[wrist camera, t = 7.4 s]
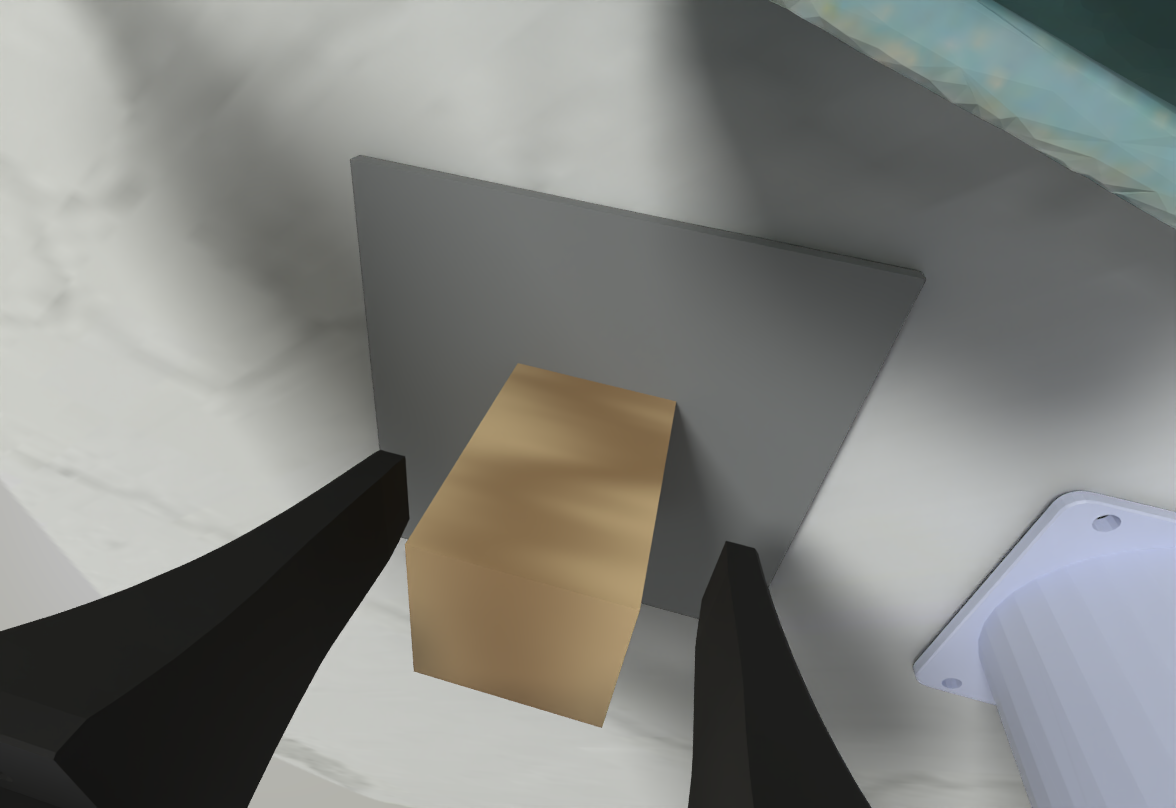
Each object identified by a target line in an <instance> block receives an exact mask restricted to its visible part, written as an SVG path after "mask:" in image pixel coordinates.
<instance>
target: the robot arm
mask: <svg viewBox="0 0 1176 808" xmlns="http://www.w3.org/2000/svg"><path fill="white" fill-rule="evenodd" d="M1104 515H1108V516H1106V517H1105V518H1101V519H1097V518H1098V517H1100V516H1104ZM409 520H410V517H409V502H408V488H407V473H406V458H405V456H402V455H398V454H395V453H391V452H387V451H383V450H379V451H377V452H375V453H374V454H372V455H371V456H369V457H368V458H366V459H365V460H363V461H362V462H360V463H359V464H357V465H356V466H354V467H353V468H351V469H350V470H348V471H347V472H345V473H344V474H342V475H341V476H339V477H338V478H336V479H335V480H333V481H332V482H330V483H329V484H327V485H326V486H324V487H322V488H321V489H319V490H318V491H316V492H315V493H313V494H311V495H310V496H308V497H307V498H305V499H304V500H302V501H300V502H299V503H297V504H296V505H294V506H293V507H291V508H289V509H288V510H286V511H284V512H283V513H281V514H279V515H278V516H276V517H274V518H272V519H271V520H269V521H267V522H265V523H264V524H262V525H260V526H259V527H257V528H255V529H253V530H252V531H250V532H248V533H246V534H244V535H243V536H241V537H239V538H237V539H235V540H233V541H231V542H230V543H228V544H226V545H224V546H222V547H220V548H218V549H216V550H214V551H212V552H210V553H208V554H206V555H204V556H202V557H199V558H197V559H195V560H193V561H191V562H189V563H187V564H184V565H182V566H180V567H177V568H175V569H173V570H170V571H168V572H166V573H163V574H161V575H159V576H156V577H154V578H152V579H149V580H147V581H145V582H142V583H140V584H138V585H135V586H133V587H130V588H128V589H125V590H122V591H120V592H117V593H114V594H112V595H109V596H106V597H104V598H101V599H98V600H96V601H93V602H90V603H87V604H85V605H81V606H79V607H76V608H73V609H70V610H67V611H64V612H61V613H58V614H55V615H52V616H49V617H46V618H42V619H39V620H36V621H33V622H30V623H26V624H23V625H20V626H16V627H13V628H10V629H7V630H3V631H0V808H247V807H248V805H249V803H250V801H251V799H252V797H253V795H254V792H255V790H256V788H257V786H258V784H259V782H260V780H261V778H262V776H263V774H264V772H265V770H266V768H267V766H268V764H269V761H270V760H271V758H272V755H273V753H274V751H275V749H276V747H277V745H278V743H279V742H280V740H281V738H282V736H283V734H284V732H285V730H286V728H287V726H288V724H289V722H290V720H291V718H292V716H293V714H294V712H295V710H296V709H297V707H298V705H299V703H300V701H301V699H302V697H303V696H304V694H305V692H306V690H307V688H308V686H309V684H310V683H311V681H312V679H313V677H314V675H315V673H316V672H317V670H318V668H319V666H320V664H321V663H322V661H323V659H324V658H325V656H326V654H327V653H328V651H329V650H330V648H331V646H332V645H333V643H334V642H335V640H336V639H337V637H338V636H339V634H340V633H341V631H342V630H343V628H344V627H345V625H346V624H347V622H348V621H349V619H350V618H351V616H352V615H353V613H354V612H355V611H356V609H357V608H358V606H359V605H360V603H361V602H362V600H363V599H364V597H365V596H366V594H367V593H368V591H369V590H370V588H371V587H372V585H373V584H374V582H375V581H376V579H377V578H378V576H379V575H380V573H381V572H382V570H383V569H384V567H385V566H386V564H387V562H388V561H389V559H390V557H391V556H392V554H393V552H394V550H395V548H396V546H397V544H398V542H399V540H400V538H401V536H402V534H403V532H404V530H405V528H406V526H407V524H408V522H409ZM913 669H914V673H915V677H916V680H917V681H918V682H919V683H921V684H923V685H925V686H928V687H931V688H935V689H939V690H942V691H946V692H950V693H953V694H957V695H960V696H964V697H968V698H971V699H975V700H979V701H982V702H986V703H990V704H993V705H996V706H997V709H998V712H999V715H1000V718H1001V721H1002V724H1003V726H1004V729H1005V732H1006V735H1007V738H1008V741H1009V744H1010V747H1011V749H1012V752H1013V755H1014V758H1015V761H1016V764H1017V767H1018V769H1019V772H1020V775H1021V778H1022V781H1023V784H1024V787H1025V789H1026V792H1027V795H1028V798H1029V801H1030V804H1031V807H1032V808H1176V512H1174V511H1169V510H1165V509H1161V508H1157V507H1152V506H1148V505H1144V504H1140V503H1136V502H1131V501H1127V500H1123V499H1119V498H1114V497H1110V496H1106V495H1102V494H1098V493H1093V492H1088V491H1075V492H1069V493H1067V494H1064V495H1062V496H1060V497H1059V498H1058V499H1056V500H1055V501H1054V502H1053V503H1052V504H1051V505H1050V506H1049V508H1048V509H1047V510H1046V511H1045V512H1044V513H1043V515H1042V516H1041V517H1040V518H1039V519H1038V520H1037V522H1036V523H1035V524H1034V525H1033V526H1032V527H1031V529H1030V530H1029V531H1028V532H1027V533H1026V534H1025V536H1024V537H1023V538H1022V539H1021V540H1020V541H1019V542H1018V544H1017V545H1016V546H1015V547H1014V548H1013V549H1012V551H1011V552H1010V553H1009V554H1008V555H1007V556H1006V558H1005V559H1004V560H1003V561H1002V562H1001V563H1000V565H999V566H998V567H997V568H996V569H995V570H994V572H993V573H992V574H991V575H990V576H989V577H988V579H987V580H986V581H985V582H984V583H983V584H982V586H981V587H980V588H979V589H978V590H977V591H976V592H975V594H974V595H973V596H972V597H971V598H970V599H969V601H968V602H967V603H966V604H965V605H964V606H963V608H962V609H961V610H960V611H959V612H958V613H957V615H956V616H955V617H954V618H953V619H952V620H951V622H950V623H949V624H948V625H947V626H946V627H945V629H944V630H943V631H942V632H941V633H940V634H939V636H938V637H937V638H936V639H935V640H934V641H933V642H932V644H931V645H930V646H929V647H928V648H927V649H926V651H925V652H924V653H923V654H922V655H921V656H920V658H919V659H918V660H917V661H916V662H915V664H914V666H913ZM688 808H871V806H870V805H869V803H868V801H867V800H866V798H865V797H864V795H863V793H862V792H861V790H860V789H859V787H858V785H857V784H856V782H855V780H854V778H853V777H852V775H851V773H850V771H849V770H848V768H847V766H846V764H845V762H844V761H843V759H842V757H841V755H840V753H839V752H838V750H837V748H836V746H835V744H834V742H833V740H832V738H831V737H830V735H829V733H828V731H827V729H826V727H825V725H824V723H823V721H822V719H821V717H820V715H819V713H818V711H817V709H816V707H815V705H814V703H813V700H812V698H811V696H810V694H809V692H808V690H807V687H806V685H805V683H804V681H803V678H802V676H801V674H800V672H799V669H798V667H797V665H796V662H795V660H794V657H793V655H792V652H791V650H790V647H789V645H788V642H787V640H786V637H785V634H784V632H783V629H782V627H781V624H780V621H779V618H778V616H777V613H776V610H775V607H774V604H773V601H772V598H771V595H770V592H769V589H768V586H767V583H766V579H765V576H764V573H763V569H762V565H761V562H760V558H759V554H758V552H757V551H756V549H755V548H752V547H748V546H745V545H741V544H737V543H733V542H729V541H726V542H725V544H724V547H723V549H722V551H721V554H720V556H719V559H718V561H717V564H716V566H715V568H714V571H713V573H712V576H711V578H710V581H709V583H708V585H707V588H706V590H705V593H704V595H703V598H702V601H701V608H700V615H699V622H698V630H697V638H696V646H695V682H694V727H693V760H692V777H691V786H690V795H689V803H688Z"/></svg>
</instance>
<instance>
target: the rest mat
mask: <svg viewBox="0 0 1176 808" xmlns="http://www.w3.org/2000/svg"><path fill="white" fill-rule="evenodd" d="M350 163H351V173H352V183H353V193H354V203H355V212H356V222H357V232H358V242H359V252H360V262H361V271H362V281H363V291H364V301H365V311H366V321H367V330H368V340H369V350H370V360H371V370H372V379H373V389H374V399H375V409H376V419H377V429H378V438H379V448H380V450H383V451H387V452H391V453H395V454H398V455H402V456H405V458H406V473H407V488H408V502H409V517H410V520H409V522H408V524H407V526H406V528H405V530H404V532H403V534H402V536H401V537H402V538H405V539H409V537H410V536H411V534H412V533H413V531H414V529H415V528H416V526H417V524H418V523H419V521H420V520H421V518H422V516H423V515H424V513H425V512H426V510H427V508H428V507H429V505H430V504H431V502H432V500H433V499H434V497H435V496H436V494H437V492H438V491H439V489H440V487H441V486H442V484H443V483H444V481H445V479H446V478H447V476H448V475H449V473H450V471H451V470H452V468H453V467H454V465H455V463H456V462H457V460H458V458H459V457H460V455H461V454H462V452H463V450H464V449H465V447H466V446H467V444H468V442H469V441H470V439H471V438H472V436H473V434H474V433H475V431H476V430H477V428H478V426H479V425H480V423H481V421H482V420H483V418H484V417H485V415H486V413H487V412H488V410H489V409H490V407H491V405H492V404H493V402H494V401H495V399H496V397H497V396H498V394H499V393H500V391H501V389H502V388H503V386H504V384H505V383H506V381H507V380H508V378H509V376H510V375H511V373H512V372H513V370H514V368H515V367H516V365H517V364H518V363H520V364H524V365H528V366H532V367H536V368H540V369H544V370H549V371H553V372H557V373H561V374H565V375H569V376H573V377H577V378H582V379H586V380H590V381H594V382H598V383H602V384H606V385H610V386H615V387H619V388H623V389H627V390H631V391H635V392H639V393H643V394H647V395H652V396H656V397H660V398H664V399H668V400H672V401H676V406H675V411H674V417H673V423H672V428H671V434H670V440H669V446H668V451H667V457H666V463H665V469H664V474H663V480H662V486H661V491H660V497H659V503H658V509H657V514H656V520H655V526H654V532H653V537H652V543H651V549H650V555H649V560H648V566H647V572H646V577H645V583H644V589H643V595H642V600H641V603H642V604H646V605H650V606H653V607H657V608H661V609H664V610H668V611H671V612H675V613H679V614H682V615H686V616H690V617H693V618H697V619H699V615H700V608H701V601H702V598H703V595H704V593H705V590H706V588H707V585H708V583H709V581H710V578H711V576H712V573H713V571H714V568H715V566H716V564H717V561H718V559H719V556H720V554H721V551H722V549H723V547H724V544H725V542H726V541H729V542H733V543H737V544H741V545H745V546H748V547H752V548H755V549H756V551H757V552H758V554H759V558H760V562H761V565H762V569H763V573H764V576H765V579H766V583H767V586H768V587H769V585H770V583H771V581H772V579H773V577H774V575H775V573H776V571H777V569H778V567H779V566H780V564H781V562H782V560H783V558H784V556H785V554H786V552H787V550H788V548H789V546H790V544H791V542H792V540H793V538H794V536H795V534H796V532H797V530H798V528H799V527H800V525H801V523H802V521H803V519H804V517H805V515H806V513H807V511H808V509H809V507H810V505H811V503H812V501H813V499H814V497H815V495H816V493H817V491H818V489H819V488H820V486H821V484H822V482H823V480H824V478H825V476H826V474H827V472H828V470H829V468H830V466H831V464H832V462H833V460H834V458H835V456H836V454H837V452H838V450H839V449H840V447H841V445H842V443H843V441H844V439H845V437H846V435H847V433H848V431H849V429H850V427H851V425H852V423H853V421H854V419H855V417H856V415H857V413H858V412H859V410H860V408H861V406H862V404H863V402H864V400H865V398H866V396H867V394H868V392H869V390H870V388H871V386H872V384H873V382H874V380H875V378H876V376H877V374H878V373H879V371H880V369H881V367H882V365H883V363H884V361H885V359H886V357H887V355H888V353H889V351H890V349H891V347H892V345H893V343H894V341H895V339H896V337H897V335H898V334H899V332H900V330H901V328H902V326H903V324H904V322H905V320H906V318H907V316H908V314H909V312H910V310H911V308H912V306H913V304H914V302H915V300H916V298H917V296H918V295H919V293H920V291H921V289H922V287H923V285H924V283H925V281H926V278H925V277H924V275H923V274H922V272H921V271H916V270H911V269H906V268H901V267H897V266H892V265H887V264H882V263H877V262H873V261H868V260H863V259H858V258H853V257H848V256H844V255H839V254H834V253H829V252H824V251H820V250H815V249H810V248H805V247H800V246H795V245H791V244H786V243H781V242H776V241H771V240H767V239H762V238H757V237H752V236H747V235H742V234H738V233H733V232H728V231H723V230H718V229H714V228H709V227H704V226H699V225H694V224H689V223H685V222H680V221H675V220H670V219H665V218H661V217H656V216H651V215H646V214H641V213H637V212H632V211H627V210H622V209H617V208H612V207H608V206H603V205H598V204H593V203H588V202H584V201H579V200H574V199H569V198H564V197H559V196H555V195H550V194H545V193H540V192H535V191H531V190H526V189H521V188H516V187H511V186H506V185H502V184H497V183H492V182H487V181H482V180H478V179H473V178H468V177H463V176H458V175H453V174H449V173H444V172H439V171H434V170H429V169H425V168H420V167H415V166H410V165H405V164H400V163H396V162H391V161H386V160H381V159H376V158H372V157H367V156H362V155H359V156H357V157H354V158H352V159H350Z"/></svg>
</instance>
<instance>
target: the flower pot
mask: <svg viewBox="0 0 1176 808" xmlns="http://www.w3.org/2000/svg"><path fill="white" fill-rule="evenodd" d="M768 1H770V2H773V3H775V4H777V5H779V6H781V7H783V8H786V9H788V10H790V11H791V12H793V13H794V14H796V15H798V16H799V17H801V18H802V19H804V20H806V21H808V22H810V23H812V24H814V25H815V26H817V27H819V28H821V29H823V30H825V31H827V32H828V33H830V34H831V35H833V36H834V37H836V38H838V39H839V40H841V41H842V42H844V43H846V44H847V45H849V46H850V47H852V48H853V49H855V50H857V51H858V52H860V53H862V54H864V55H866V56H868V57H870V58H872V59H874V60H876V61H877V62H879V63H881V64H883V65H885V66H887V67H888V68H890V69H892V70H894V71H896V72H898V73H899V74H901V75H903V76H905V77H907V78H909V79H910V80H912V81H914V82H916V83H918V84H919V85H921V86H923V87H925V88H927V89H928V90H930V91H932V92H934V93H935V94H937V95H939V96H941V97H943V98H944V99H946V100H948V101H950V102H951V103H953V104H955V105H957V106H959V107H960V108H962V109H964V110H966V111H968V112H970V113H972V114H973V115H975V116H977V117H979V118H980V119H982V120H984V121H986V122H988V123H990V124H992V125H994V126H996V127H998V128H1000V129H1002V130H1004V131H1006V132H1007V133H1009V134H1011V135H1012V136H1014V137H1016V138H1018V139H1019V140H1021V141H1023V142H1024V143H1026V144H1028V145H1030V146H1031V147H1033V148H1035V149H1036V150H1038V151H1039V152H1041V153H1043V154H1044V155H1046V156H1048V157H1049V158H1051V159H1052V160H1054V161H1056V162H1058V163H1059V164H1061V165H1063V166H1065V167H1066V168H1068V169H1070V170H1072V171H1074V172H1076V173H1078V174H1081V175H1083V176H1085V177H1087V178H1089V179H1090V180H1092V181H1094V182H1095V183H1097V184H1098V185H1100V186H1101V187H1103V188H1104V189H1106V190H1107V191H1109V192H1112V193H1113V194H1115V195H1117V196H1118V197H1120V198H1122V199H1124V200H1125V201H1127V202H1129V203H1130V204H1132V205H1134V206H1136V207H1137V208H1139V209H1141V210H1143V211H1144V212H1146V213H1148V214H1149V215H1151V216H1153V217H1155V218H1156V219H1158V220H1160V221H1161V222H1163V223H1165V224H1167V225H1169V226H1171V227H1172V228H1174V229H1176V0H768Z"/></svg>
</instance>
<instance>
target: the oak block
mask: <svg viewBox="0 0 1176 808" xmlns="http://www.w3.org/2000/svg"><path fill="white" fill-rule="evenodd" d="M675 406H676V401H672V400H668V399H664V398H660V397H656V396H652V395H647V394H643V393H639V392H635V391H631V390H627V389H623V388H619V387H615V386H610V385H606V384H602V383H598V382H594V381H590V380H586V379H582V378H577V377H573V376H569V375H565V374H561V373H557V372H553V371H549V370H544V369H540V368H536V367H532V366H528V365H524V364H520V363H518V364H517V365H516V367H515V368H514V370H513V372H512V373H511V375H510V376H509V378H508V380H507V381H506V383H505V384H504V386H503V388H502V389H501V391H500V393H499V394H498V396H497V397H496V399H495V401H494V402H493V404H492V405H491V407H490V409H489V410H488V412H487V413H486V415H485V417H484V418H483V420H482V421H481V423H480V425H479V426H478V428H477V430H476V431H475V433H474V434H473V436H472V438H471V439H470V441H469V442H468V444H467V446H466V447H465V449H464V450H463V452H462V454H461V455H460V457H459V458H458V460H457V462H456V463H455V465H454V467H453V468H452V470H451V471H450V473H449V475H448V476H447V478H446V479H445V481H444V483H443V484H442V486H441V487H440V489H439V491H438V492H437V494H436V496H435V497H434V499H433V500H432V502H431V504H430V505H429V507H428V508H427V510H426V512H425V513H424V515H423V516H422V518H421V520H420V521H419V523H418V524H417V526H416V528H415V529H414V531H413V533H412V534H411V536H410V537H409V539H408V541H407V542H406V544H405V552H406V566H407V580H408V594H409V609H410V623H411V637H412V651H413V665H414V672H418V673H421V674H424V675H428V676H431V677H434V678H438V679H441V680H444V681H448V682H451V683H454V684H458V685H461V686H464V687H468V688H471V689H474V690H478V691H481V692H484V693H488V694H491V695H494V696H498V697H501V698H504V699H508V700H511V701H514V702H518V703H521V704H524V705H528V706H531V707H534V708H538V709H541V710H544V711H548V712H551V713H554V714H558V715H561V716H564V717H568V718H571V719H574V720H578V721H581V722H584V723H588V724H591V725H594V726H598V727H601V728H602V726H603V723H604V719H605V716H606V713H607V710H608V707H609V704H610V701H611V698H612V695H613V692H614V688H615V685H616V682H617V679H618V676H619V673H620V670H621V667H622V664H623V661H624V657H625V654H626V651H627V648H628V645H629V642H630V639H631V636H632V633H633V630H634V627H635V623H636V620H637V617H638V614H639V611H640V606H641V600H642V595H643V589H644V583H645V577H646V572H647V566H648V560H649V555H650V549H651V543H652V537H653V532H654V526H655V520H656V514H657V509H658V503H659V497H660V491H661V486H662V480H663V474H664V469H665V463H666V457H667V451H668V446H669V440H670V434H671V428H672V423H673V417H674V411H675Z"/></svg>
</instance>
